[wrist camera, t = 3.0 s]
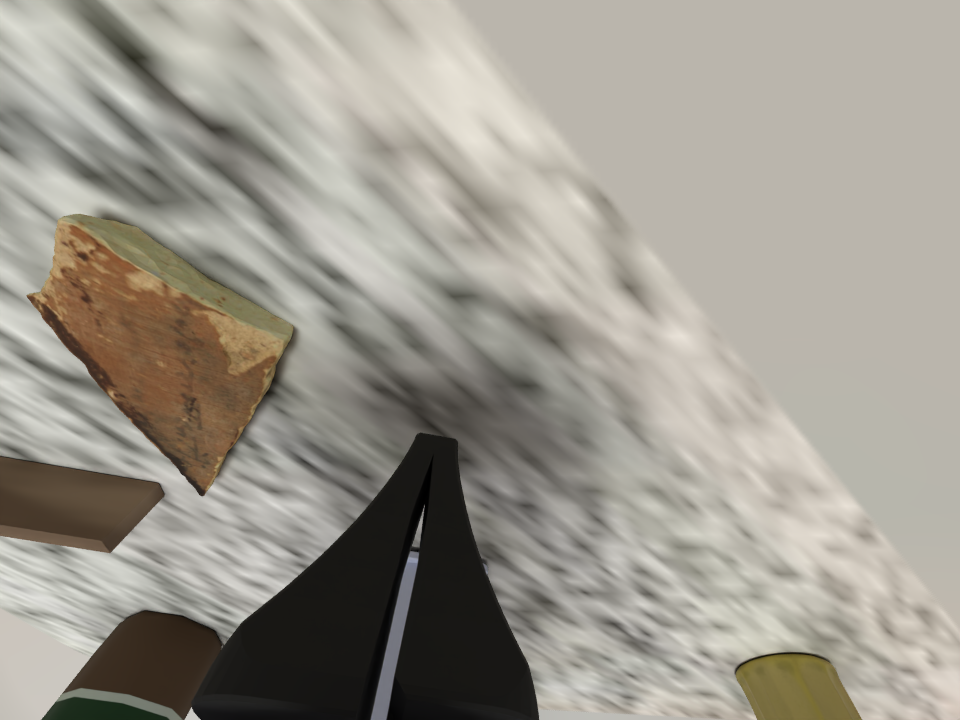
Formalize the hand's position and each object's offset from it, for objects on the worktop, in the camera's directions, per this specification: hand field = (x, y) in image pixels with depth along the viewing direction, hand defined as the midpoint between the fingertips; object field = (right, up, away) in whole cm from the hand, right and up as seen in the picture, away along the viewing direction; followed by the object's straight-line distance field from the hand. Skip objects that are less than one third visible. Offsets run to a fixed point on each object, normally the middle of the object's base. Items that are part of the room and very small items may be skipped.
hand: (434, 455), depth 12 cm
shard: (-9, +3, +2) cm, 9 cm away
